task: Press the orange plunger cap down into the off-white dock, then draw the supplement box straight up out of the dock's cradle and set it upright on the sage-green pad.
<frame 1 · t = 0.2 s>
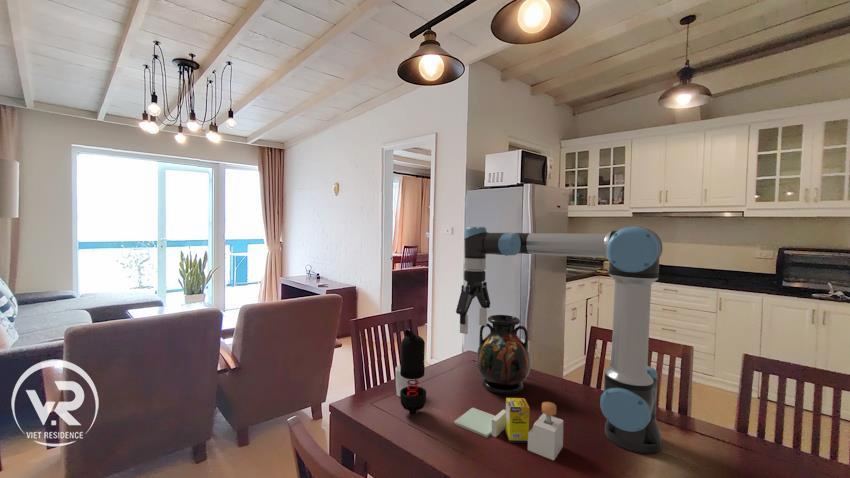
hand: (473, 329, 127), 28 cm above the table, tool pointing down, fingers open, 13 cm apart
amphora vase: (502, 387, 144), on the table
plunger: (548, 416, 103), point 10 cm above the table, slide at 0.0 cm
filter: (414, 412, 123), on the table
pad: (479, 422, 116), on the table
white cup: (405, 394, 136), on the table
dock: (516, 437, 109), on the table
supplement box: (516, 438, 109), on the table
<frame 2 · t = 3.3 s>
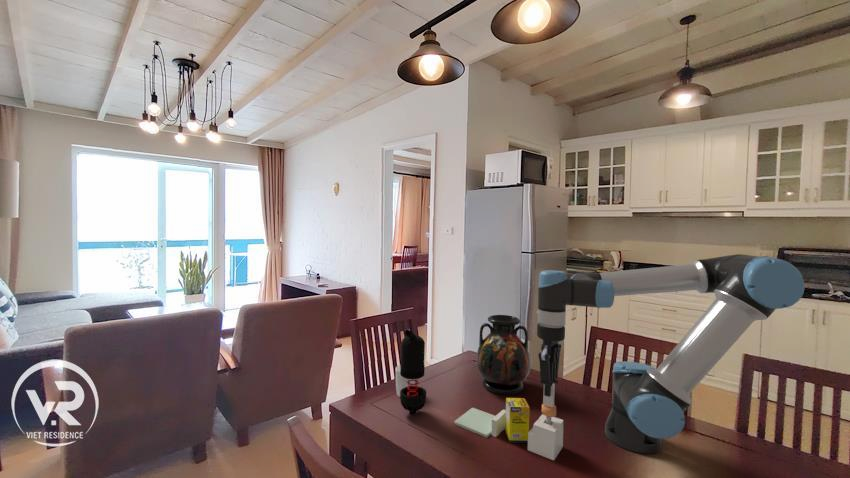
hand: (548, 405, 102), 13 cm above the table, tool pointing down, fingers closed
plunger: (548, 417, 103), point 9 cm above the table, slide at 0.4 cm, touching gripper
everything else where it was.
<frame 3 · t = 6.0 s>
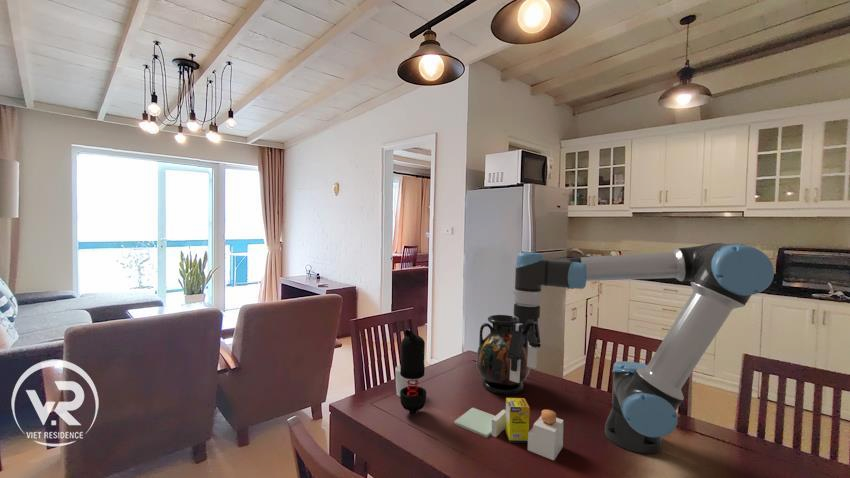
hand: (523, 374, 107), 20 cm above the table, tool pointing down, fingers open, 13 cm apart
plunger: (548, 424, 103), point 7 cm above the table, slide at 2.3 cm
everything else where it was.
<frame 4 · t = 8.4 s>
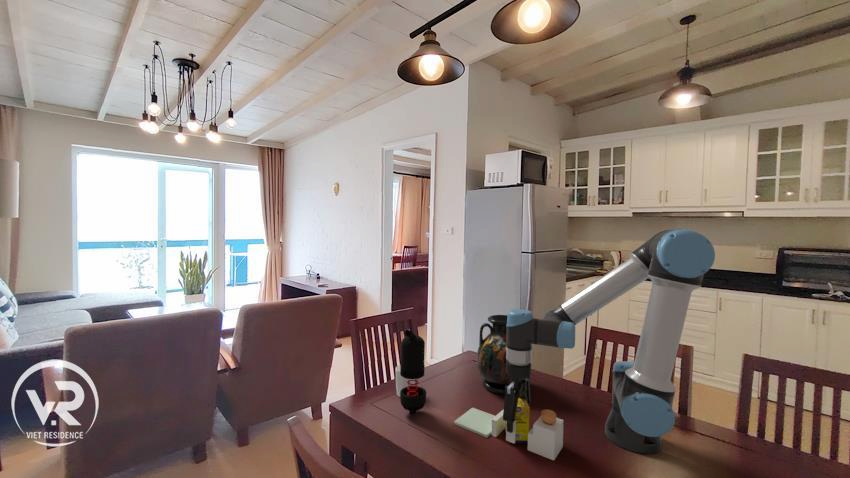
hand: (516, 434, 109), 1 cm above the table, tool pointing down, fingers closed on supplement box, 8 cm apart
supplement box: (516, 438, 109), on the table, touching gripper
everything else where it was.
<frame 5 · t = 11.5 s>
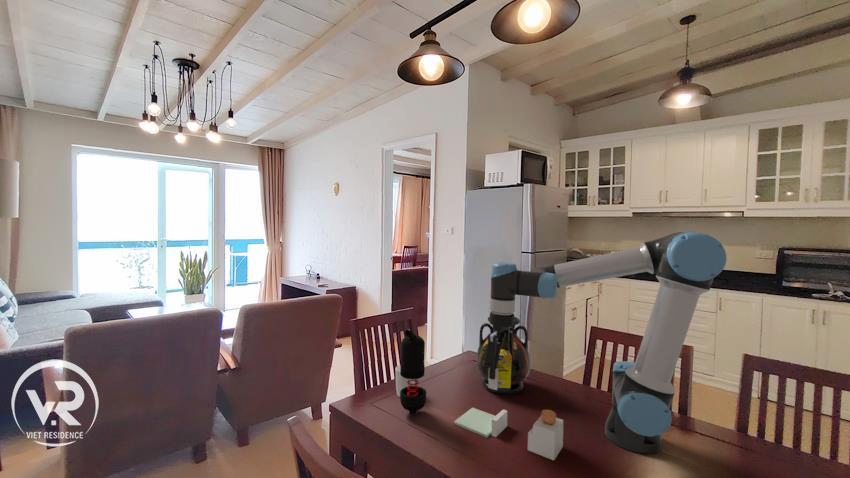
hand: (499, 383, 112), 15 cm above the table, tool pointing down, fingers closed on supplement box, 8 cm apart
supplement box: (499, 386, 112), point 14 cm above the table, touching gripper
everything else where it was.
when the fingers open (3 cm above the table, at t = 14.5 s): supplement box drops 1 cm, resting on pad.
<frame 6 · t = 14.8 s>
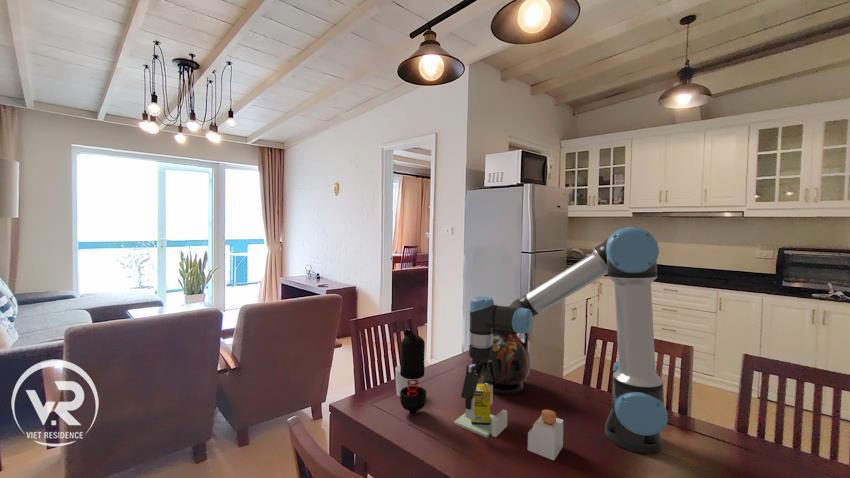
hand: (479, 410, 116), 4 cm above the table, tool pointing down, fingers open, 12 cm apart
supplement box: (479, 420, 117), point 1 cm above the table, touching pad
everything else where it was.
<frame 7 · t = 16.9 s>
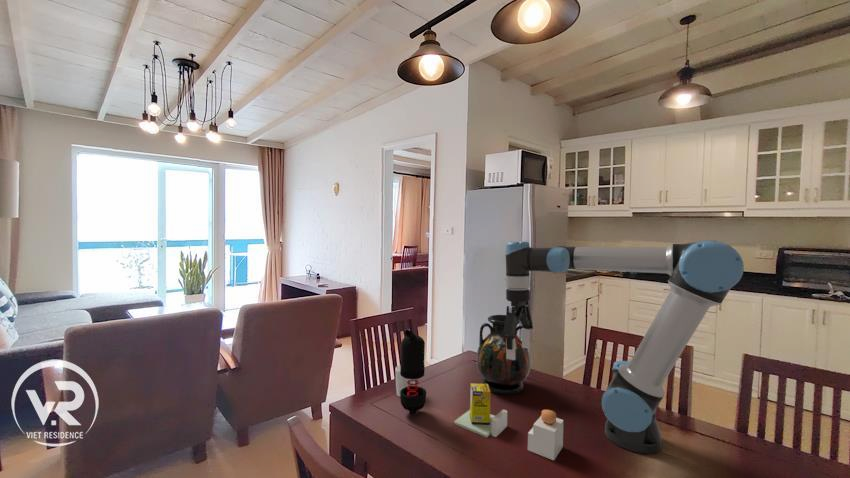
hand: (518, 353, 116), 23 cm above the table, tool pointing down, fingers open, 13 cm apart
nothing on the table moved.
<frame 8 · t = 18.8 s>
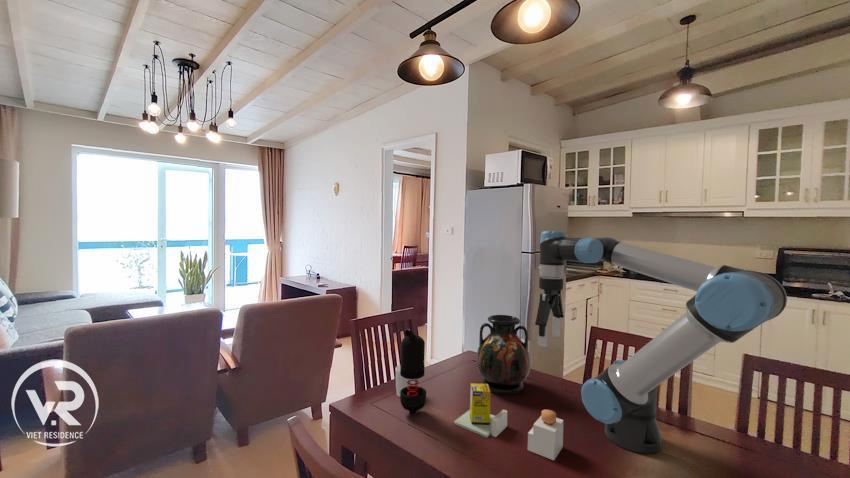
hand: (549, 341, 118), 27 cm above the table, tool pointing down, fingers open, 13 cm apart
nothing on the table moved.
at the end: supplement box 0.2 cm off-centre on the pad, point 0.6 cm above the pad's base; supplement box tilted 0°; plunger slide at 2.3 cm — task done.
